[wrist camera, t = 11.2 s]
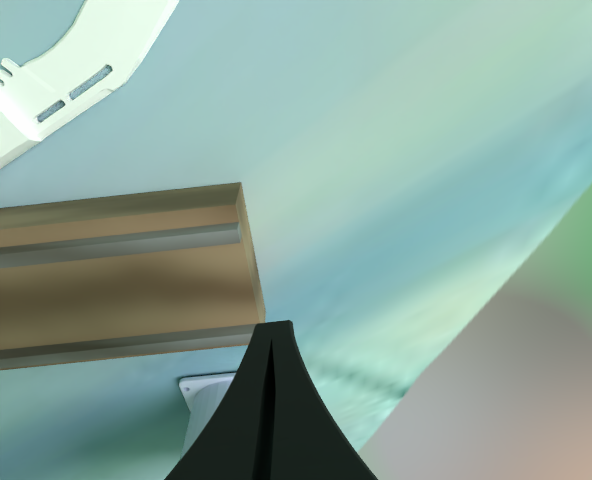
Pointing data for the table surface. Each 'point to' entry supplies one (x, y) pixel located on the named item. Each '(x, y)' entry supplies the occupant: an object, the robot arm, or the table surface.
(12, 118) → the knife
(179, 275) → the slot block
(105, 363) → the table surface
